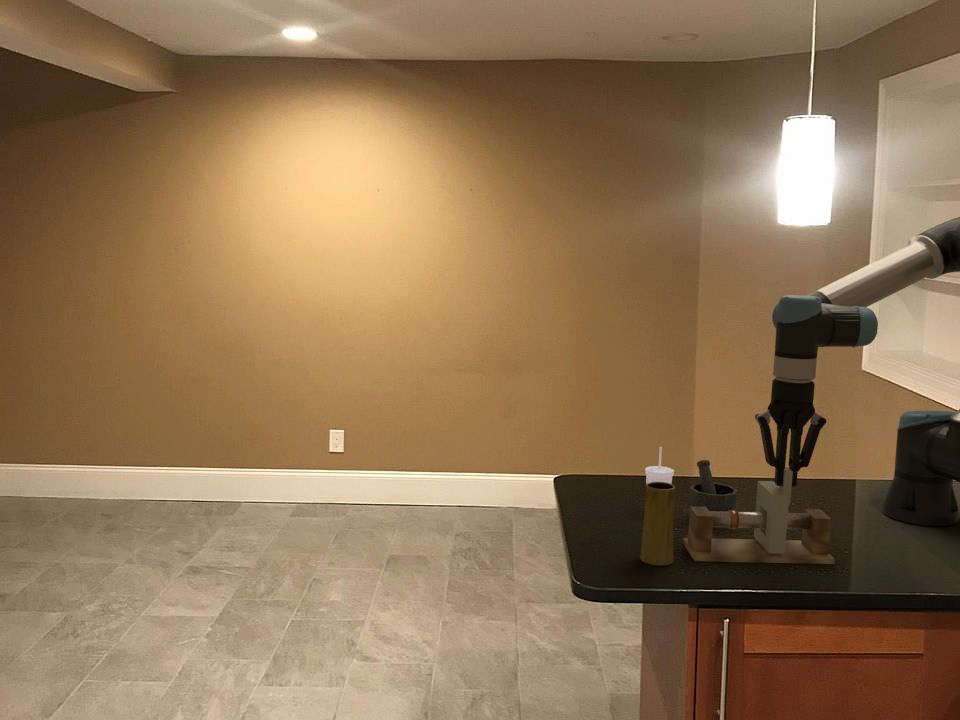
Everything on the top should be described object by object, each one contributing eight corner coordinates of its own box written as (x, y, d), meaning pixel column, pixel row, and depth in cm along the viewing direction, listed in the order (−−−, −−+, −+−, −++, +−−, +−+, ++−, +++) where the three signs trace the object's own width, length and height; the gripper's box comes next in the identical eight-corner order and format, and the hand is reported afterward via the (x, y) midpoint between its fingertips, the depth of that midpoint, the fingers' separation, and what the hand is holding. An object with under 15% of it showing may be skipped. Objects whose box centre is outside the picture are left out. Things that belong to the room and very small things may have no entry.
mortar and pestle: (743, 526, 202) (747, 470, 200) (702, 529, 200) (705, 472, 198) (717, 510, 213) (720, 456, 211) (677, 513, 210) (680, 458, 209)
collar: (769, 536, 191) (773, 481, 189) (784, 553, 182) (789, 495, 180) (753, 536, 191) (757, 480, 189) (768, 553, 181) (772, 495, 180)
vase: (666, 568, 177) (670, 492, 175) (634, 561, 180) (638, 486, 178) (678, 559, 182) (682, 484, 180) (647, 552, 185) (651, 479, 183)
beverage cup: (677, 511, 211) (681, 448, 209) (657, 516, 208) (660, 451, 206) (657, 504, 216) (661, 442, 214) (637, 508, 213) (640, 445, 211)
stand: (815, 545, 192) (818, 506, 190) (834, 564, 182) (837, 522, 180) (682, 542, 191) (685, 503, 190) (694, 561, 181) (696, 519, 180)
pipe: (815, 527, 188) (817, 509, 187) (822, 533, 184) (823, 515, 184) (695, 524, 187) (696, 507, 187) (699, 530, 184) (701, 512, 183)
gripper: (821, 376, 185) (811, 497, 189) (752, 374, 185) (744, 495, 189) (836, 383, 178) (825, 509, 181) (764, 381, 178) (755, 507, 181)
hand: (783, 502), depth 185 cm, fingers closed
